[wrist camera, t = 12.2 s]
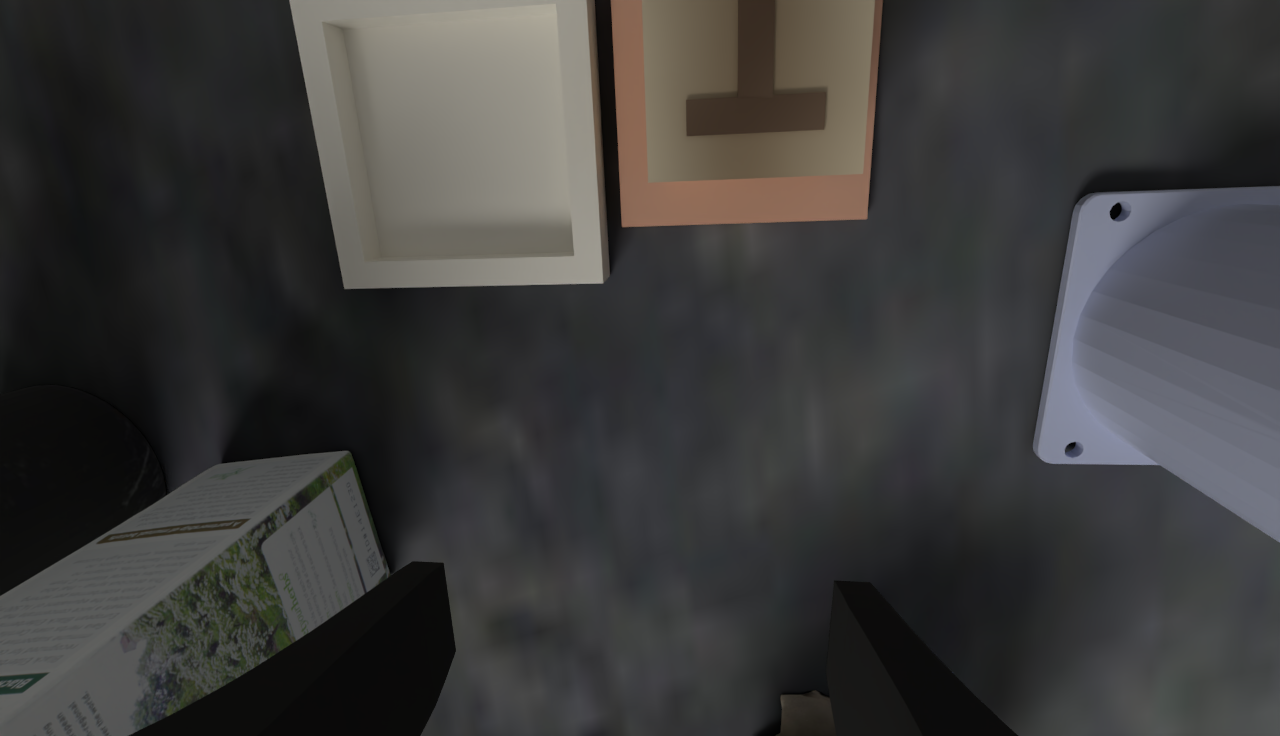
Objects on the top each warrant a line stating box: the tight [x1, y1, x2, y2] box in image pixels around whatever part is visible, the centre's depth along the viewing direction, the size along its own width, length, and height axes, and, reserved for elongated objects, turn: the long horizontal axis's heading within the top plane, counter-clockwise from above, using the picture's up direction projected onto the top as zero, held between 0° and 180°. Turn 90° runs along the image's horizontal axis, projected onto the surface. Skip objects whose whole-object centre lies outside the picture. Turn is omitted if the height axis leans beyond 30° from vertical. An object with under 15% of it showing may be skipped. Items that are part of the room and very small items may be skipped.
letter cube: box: [642, 0, 875, 183], centre depth 14 cm, size 4×4×5 cm
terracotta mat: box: [611, 0, 883, 227], centre depth 17 cm, size 7×7×1 cm
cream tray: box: [289, 0, 610, 289], centre depth 17 cm, size 8×8×1 cm
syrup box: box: [0, 451, 391, 736], centre depth 16 cm, size 6×6×14 cm
